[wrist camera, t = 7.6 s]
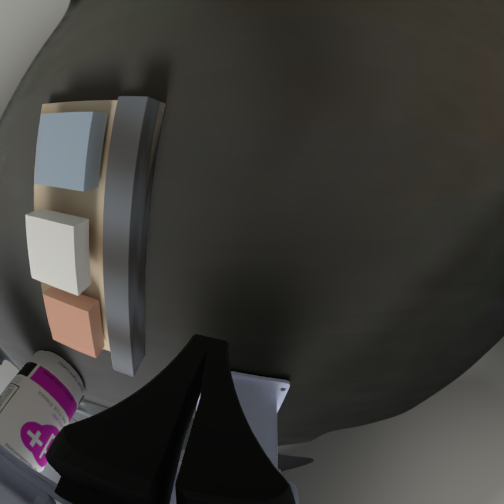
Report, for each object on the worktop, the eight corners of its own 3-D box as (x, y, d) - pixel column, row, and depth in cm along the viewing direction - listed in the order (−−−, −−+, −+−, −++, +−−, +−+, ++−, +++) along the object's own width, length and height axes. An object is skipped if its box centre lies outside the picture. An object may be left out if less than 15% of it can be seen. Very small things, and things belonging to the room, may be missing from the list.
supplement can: (78, 359, 24) (13, 457, 10) (93, 402, 27) (49, 489, 13) (30, 338, 24) (-35, 414, 10) (48, 382, 27) (0, 454, 13)
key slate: (98, 187, 16) (83, 191, 15) (49, 180, 16) (34, 184, 14) (108, 113, 14) (93, 111, 13) (56, 114, 14) (41, 113, 13)
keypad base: (144, 355, 23) (133, 376, 20) (54, 321, 23) (39, 336, 20) (165, 103, 16) (147, 96, 13) (50, 104, 15) (26, 103, 12)
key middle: (90, 284, 18) (78, 295, 16) (45, 268, 18) (31, 277, 16) (89, 218, 16) (73, 226, 14) (40, 208, 16) (25, 214, 14)
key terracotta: (104, 345, 21) (95, 358, 20) (62, 329, 21) (53, 339, 19) (99, 300, 19) (88, 311, 18) (54, 284, 19) (42, 293, 18)
